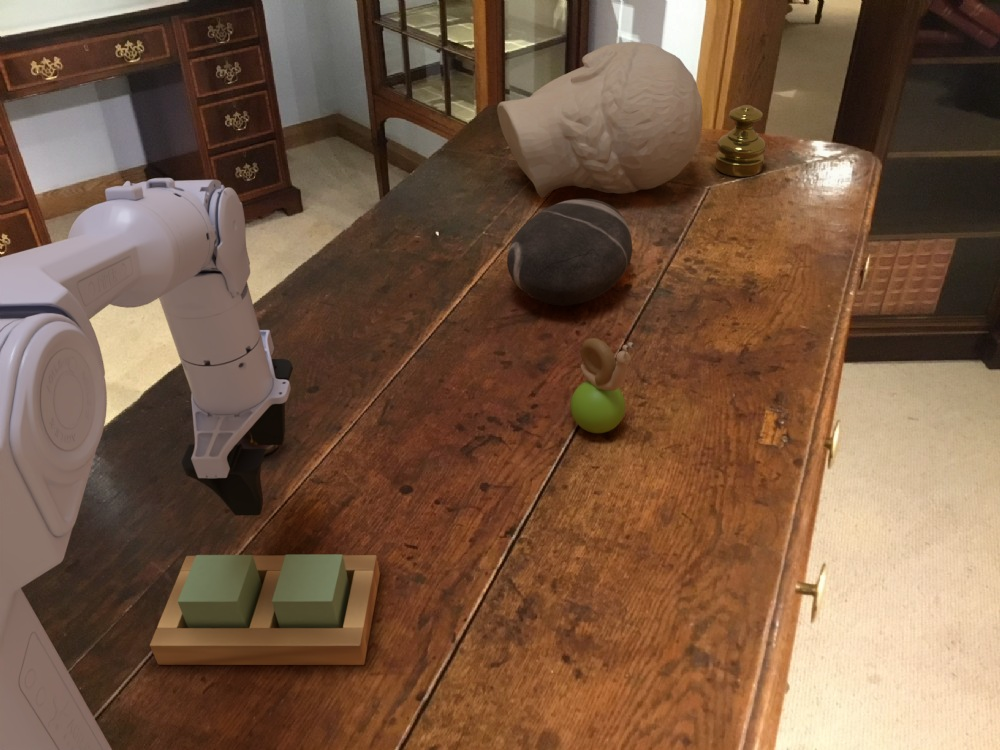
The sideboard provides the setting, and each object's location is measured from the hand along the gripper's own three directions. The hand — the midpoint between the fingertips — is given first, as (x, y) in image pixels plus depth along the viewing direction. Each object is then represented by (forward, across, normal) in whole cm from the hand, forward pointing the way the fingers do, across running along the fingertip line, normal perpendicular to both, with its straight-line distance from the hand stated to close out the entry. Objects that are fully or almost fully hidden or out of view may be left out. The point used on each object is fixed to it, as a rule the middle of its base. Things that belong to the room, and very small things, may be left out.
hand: (260, 475), depth 68 cm
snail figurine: (+10, +16, -29) cm, 35 cm away
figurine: (+10, +14, +6) cm, 18 cm away
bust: (+13, +75, -32) cm, 83 cm away
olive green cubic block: (+9, -7, +3) cm, 12 cm away
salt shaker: (+13, +79, -55) cm, 98 cm away
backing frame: (+9, -7, -1) cm, 12 cm away
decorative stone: (+12, +44, -27) cm, 53 cm away
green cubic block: (+9, -7, -4) cm, 12 cm away
